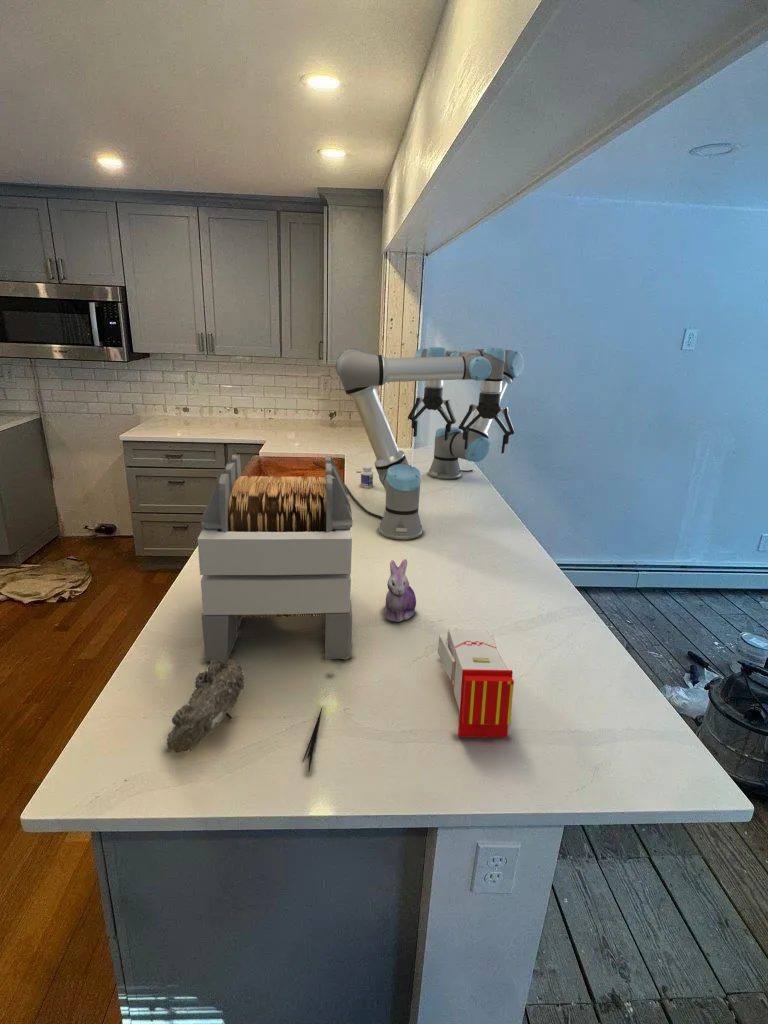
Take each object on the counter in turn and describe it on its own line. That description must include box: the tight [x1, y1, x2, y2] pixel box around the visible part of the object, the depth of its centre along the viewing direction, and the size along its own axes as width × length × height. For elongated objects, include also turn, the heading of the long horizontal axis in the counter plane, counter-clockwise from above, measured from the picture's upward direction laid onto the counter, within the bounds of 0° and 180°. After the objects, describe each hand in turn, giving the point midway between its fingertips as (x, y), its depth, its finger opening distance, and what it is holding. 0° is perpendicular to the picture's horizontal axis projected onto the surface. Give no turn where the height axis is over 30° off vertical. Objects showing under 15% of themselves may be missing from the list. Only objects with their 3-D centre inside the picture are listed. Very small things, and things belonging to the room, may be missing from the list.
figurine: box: [384, 558, 417, 623], centre depth 145 cm, size 9×10×15 cm
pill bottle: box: [360, 465, 374, 489], centre depth 250 cm, size 5×5×9 cm
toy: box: [437, 628, 515, 738], centre depth 117 cm, size 12×13×30 cm
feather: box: [301, 673, 332, 771], centre depth 108 cm, size 2×28×2 cm
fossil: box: [166, 658, 245, 754], centre depth 106 cm, size 22×10×15 cm
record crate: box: [197, 454, 354, 663], centre depth 134 cm, size 34×33×41 cm
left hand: (484, 450), depth 210 cm, fingers open, 13 cm apart
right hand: (430, 438), depth 238 cm, fingers open, 13 cm apart
